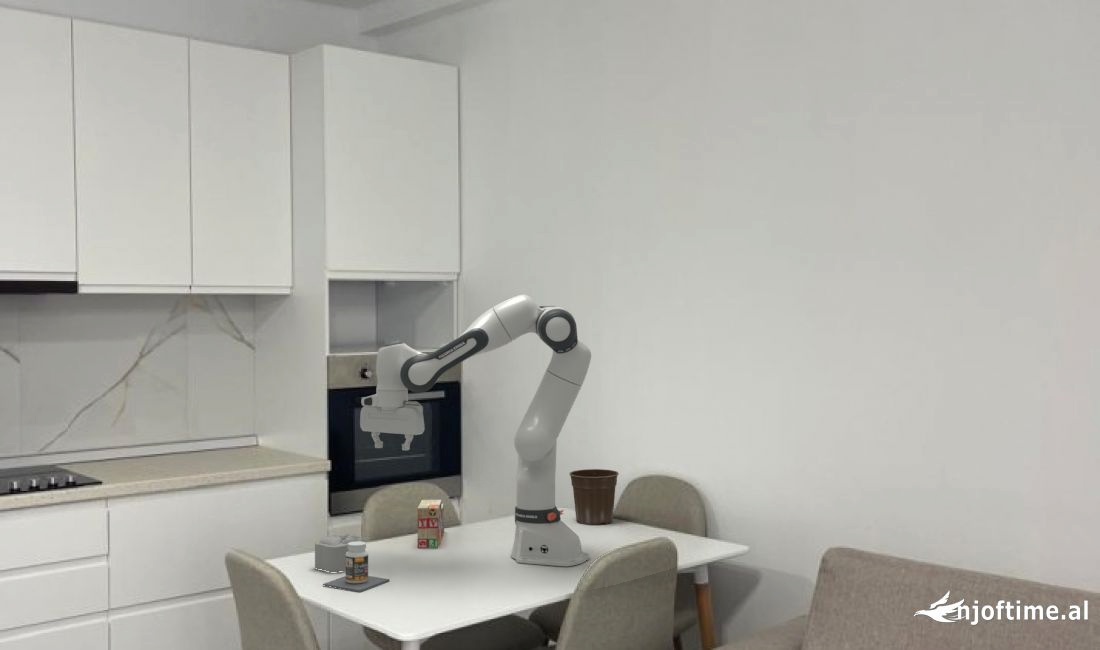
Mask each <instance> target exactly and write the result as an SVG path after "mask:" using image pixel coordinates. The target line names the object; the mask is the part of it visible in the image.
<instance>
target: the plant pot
mask: <svg viewBox="0 0 1100 650" xmlns="http://www.w3.org/2000/svg"><path fill="white" fill-rule="evenodd" d="M619 475H620V474H619V472H618V471H616V470H612V469H602V468H594V469H593V468H589V469H578V470H573V471H570V472H569V476H570V480H571V486H572V491H573V500H574V510H575V511H574V512H575V521H576V522H577V523H580V524H583V525H588V524H594V525H602V524H610V523H612V522H613V521H614V511H615V510H614V509H615V498H616V497H615V495H616V486H617V481H618V476H619Z"/></svg>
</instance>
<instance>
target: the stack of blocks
mask: <svg viewBox="0 0 1100 650" xmlns="http://www.w3.org/2000/svg"><path fill="white" fill-rule="evenodd" d="M444 505H445V504H444V503H442V499H421V502H420V503H419V505H418V506H417V549H439V548H438V547H440V546H441V543H442V538H443V537H444V535H443V534H445V511H444V509H445V506H444ZM442 536H443V537H442ZM439 545H440V546H439Z"/></svg>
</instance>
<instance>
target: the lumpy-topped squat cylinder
mask: <svg viewBox="0 0 1100 650" xmlns="http://www.w3.org/2000/svg"><path fill="white" fill-rule="evenodd" d="M355 541H361V542H363V538H362V537H360V536H357V535H356V534H351V533H348V532H344V533H342V534H340V535H336V534H335V533H329V534H328V535H326V537H323V538H322V539H320V540H317V541H316V542H314V569H315V568H317V569H322V570H326V571H329V572H339V571H346V553H347V552H348V551H349V549H348V543H349V542H355Z"/></svg>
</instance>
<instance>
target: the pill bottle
mask: <svg viewBox="0 0 1100 650" xmlns="http://www.w3.org/2000/svg"><path fill="white" fill-rule="evenodd" d="M366 548H367V543H366V542H365V541H362V542H361V541H355V542H349V543H348V549H349V551H348V552H347V553H346V572H345V576H346V582H348V583H352V584H359V583H364V582H366V581H367V580H368V576H369V553H368V551H367V550H366Z"/></svg>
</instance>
